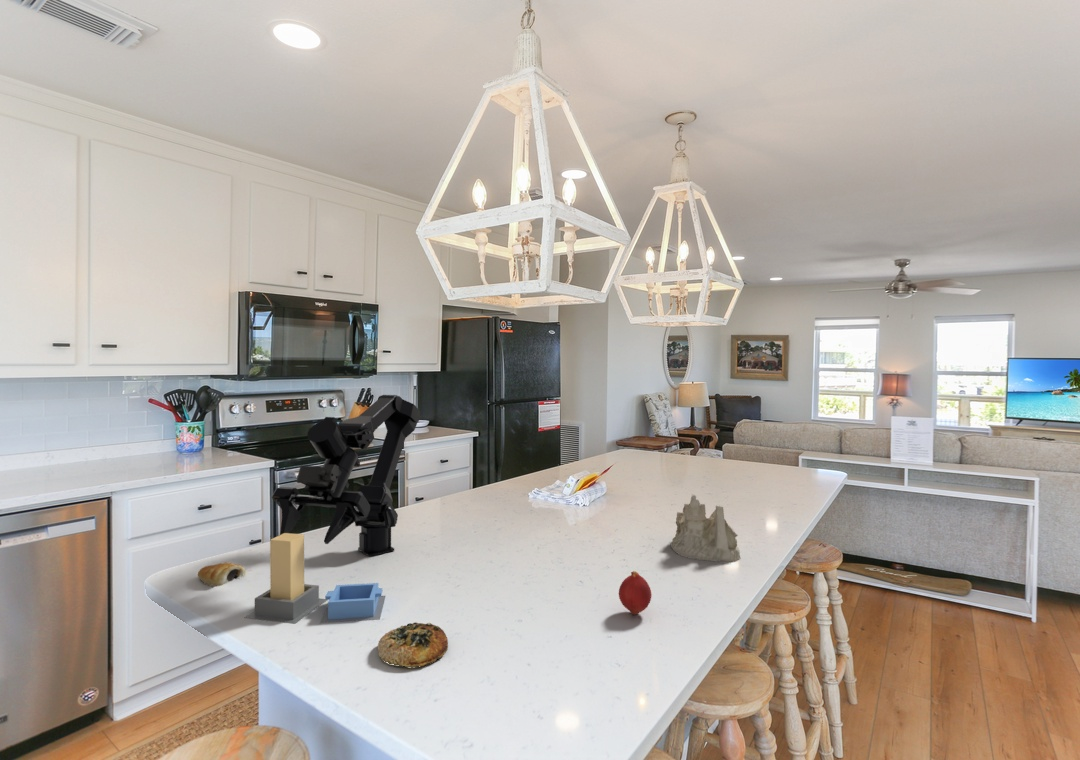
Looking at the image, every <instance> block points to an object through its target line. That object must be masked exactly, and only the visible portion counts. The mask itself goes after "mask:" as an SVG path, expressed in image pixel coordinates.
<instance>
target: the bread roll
mask: <svg viewBox="0 0 1080 760" xmlns="http://www.w3.org/2000/svg"><path fill="white" fill-rule="evenodd" d="M448 648H449V641H448V637H447V635H446V633H445V630H444V629H442V628H441V627H440V626H438V625H435V624H433V623H430V622H427V623H423V622H422V623H421V622H420V623H419V622H417V621H415V622H413V623H407V625H401V626H399V627H397V628H393V629H391V630H389V631H388V632H386V633H385V634H384V635H383V636H382V637H380V638H379V640H378V644H377V652H378V653H377V655H378V656H379V657H381V658H380V659H381V661H383V660H384V661H385V662H388V663H389V664H394V665H399V667H403V666H405V667H419V666H424V665H427V664H429V663H431V664H433V663H432V662H434V663H436V662H437V661H438V660H439V659H441V658H443V655H444V656H445V654H446V652H447V651H448ZM437 659H438V660H437ZM436 660H437V661H436ZM384 661H383V662H384ZM385 662H384V663H385ZM429 665H430V664H429ZM427 666H428V665H427ZM405 667H404V668H405ZM424 667H425V666H424Z"/></svg>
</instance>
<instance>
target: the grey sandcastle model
mask: <svg viewBox="0 0 1080 760" xmlns="http://www.w3.org/2000/svg"><path fill="white" fill-rule="evenodd" d="M724 510H725V509H724V506H723V505H721V504H717V505H715V509H714V511H713V512H712V513H711V515H710V516H709V518H707V516H706V515H707V513H706V512H707V511H706V503H701V502H700V499H699V498H697V495H696V494H691V498H690V502H689V503H686V502H685V503H684V504H683V508H682V512H681V511H677V512H676V520H675V525H676V531H675V533H676V534H675V536H674V537H673V538H672V539H671V540H672V541H671V545H670V546H671V549H673V552H674V553H676V554H677V553H678V554H677V555H679V556H682V557H684V558H687V557H688V558H689V559H691V558H692V559H691V560H698V561H699V560H700V561H710V560H711V561H713V562H723V561H725V563H733V562H738V561H740V560H741V554H740V553H741V552H740V548H739V547H738V540H737V537H738V536H739V535H738V534H737V532H736V531H735V530H734V529H733V527H732V526H731V525H729V523H728V522H727V520H726V518H725V513H724V512H725V511H724ZM688 558H687V559H688ZM711 561H710V562H711Z"/></svg>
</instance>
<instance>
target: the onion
mask: <svg viewBox="0 0 1080 760" xmlns="http://www.w3.org/2000/svg"><path fill="white" fill-rule="evenodd" d="M630 573H631V575H629V576H627V577H626V578H624V579H623V580H622V582H621V583H620V586H619V589H618V598H619V600H620V602H621V604H622V606H623V607H624V608H625V609H627V610H628V611H629V612H630V613H631V614H632V615H634V616H635V615H636V616H637V615H639V614H640V613H642V612H643V611H645V610H646V609H647V608H648V607H649V605H650V603H651V601H652V595H653V594H652V590H651V587H650V585H649V583H648V582H647V580H646V579H645V578H644V577H643V576H641V575H640V573H639V572H637V571H636V570H633V571H632V572H630Z"/></svg>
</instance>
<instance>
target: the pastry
mask: <svg viewBox="0 0 1080 760" xmlns="http://www.w3.org/2000/svg"><path fill="white" fill-rule="evenodd" d="M245 576H246V569H245V568H244V566H241V564H238V565H237V564H234V563H232V562H223V563H222V562H220V563H216V564H211V565H206V566H204V567H202V568H201V569H200V570H199V571H198V573H197V577H198V578H199V579H200V580H201V581H202V582H203V585H207V586H210V587H213V588H215V587H217V586H218V587H219V586H224V585H225V584H228V583H230V582H232V581H234V579H235V580H240V579H242V578H245Z"/></svg>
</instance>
